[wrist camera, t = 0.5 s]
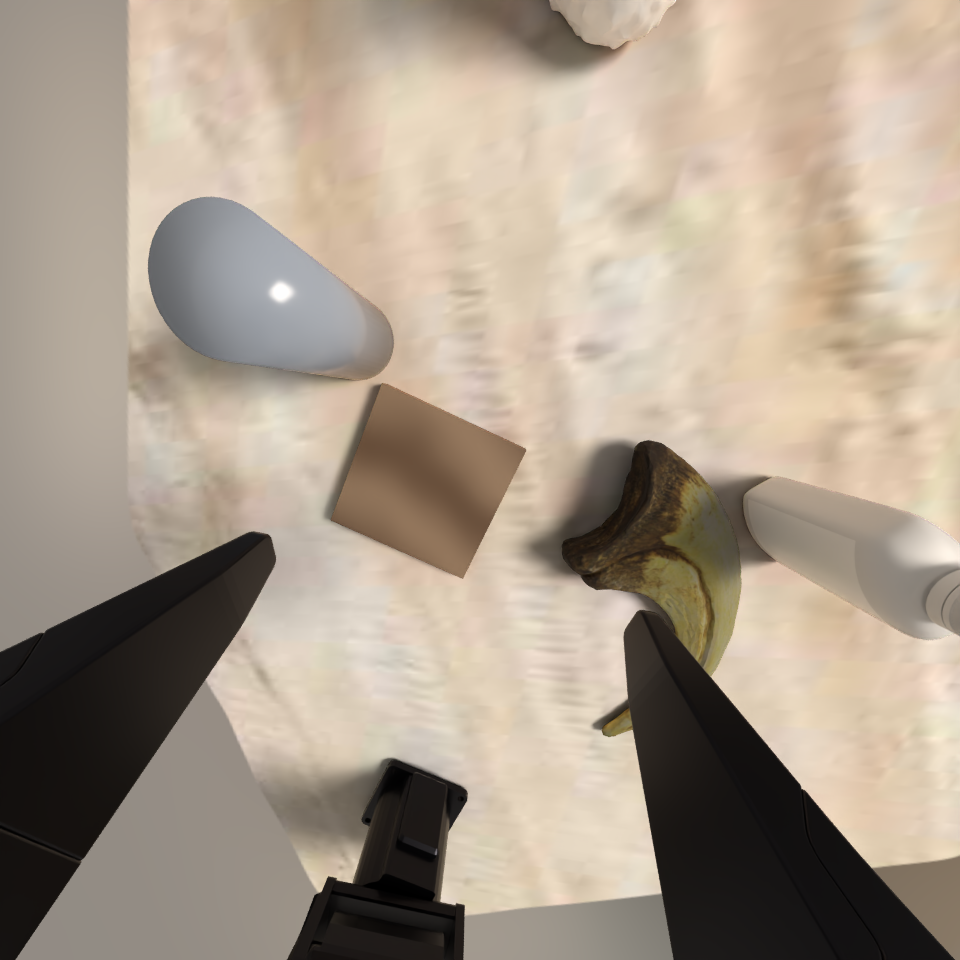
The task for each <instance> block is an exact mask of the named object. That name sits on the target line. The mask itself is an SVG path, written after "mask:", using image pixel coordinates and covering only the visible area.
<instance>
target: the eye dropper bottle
mask: <svg viewBox="0 0 960 960" xmlns="http://www.w3.org/2000/svg"><path fill="white" fill-rule="evenodd" d="M743 510H744V516H745V520H746V524H747V527H748V529H749V531H750V533H751V535H752V537H753V538H754V540H755V541H756V543H757V544H758V545H759V546H760V547H761V548H762V549H763V550H764V551H765V552H766V553H767V554H768V555H769V556H770V557H772V558H773V559H774V560H776V561H777V562H779V563H780V564H782V565H784V566H786V567H787V568H789V569H791V570H793V571H794V572H796V573H798V574H800V575H801V576H803V577H805V578H806V579H808V580H810V581H812V582H813V583H815V584H817V585H819V586H820V587H822V588H824V589H826V590H827V591H829V592H831V593H833V594H834V595H836V596H838V597H840V598H841V599H843V600H845V601H847V602H848V603H850V604H852V605H854V606H855V607H857V608H859V609H861V610H862V611H864V612H866V613H868V614H869V615H871V616H873V617H875V618H876V619H878V620H880V621H882V622H884V623H885V624H887V625H889V626H891V627H893V628H894V629H896V630H898V631H900V632H902V633H904V634H906V635H908V636H911V637H914V638H917V639H923V640H935V639H941V638H944V637H947V636H950V635H952V634H956V635H958V636H960V543H959V542H958V541H956V540H955V539H954V538H953V537H952V536H951V535H949V534H948V533H947V532H945V531H944V530H943V529H941V528H940V527H938V526H937V525H935V524H934V523H932V522H930V521H928V520H926V519H925V518H923V517H921V516H918V515H916V514H913V513H910V512H907V511H903V510H900V509H896V508H893V507H890V506H886V505H883V504H879V503H876V502H872V501H868V500H865V499H861V498H857V497H854V496H850V495H846V494H843V493H839V492H835V491H832V490H828V489H824V488H821V487H817V486H813V485H809V484H806V483H802V482H798V481H795V480H791V479H787V478H783V477H778V476H776V477H773V478H770V479H768V480H766V481H764V482H762V483H760V484H759V485H757V486H755V487H753V488H752V489H750V490H749V491H748V492H746V493H745V495H744V498H743Z"/></svg>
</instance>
